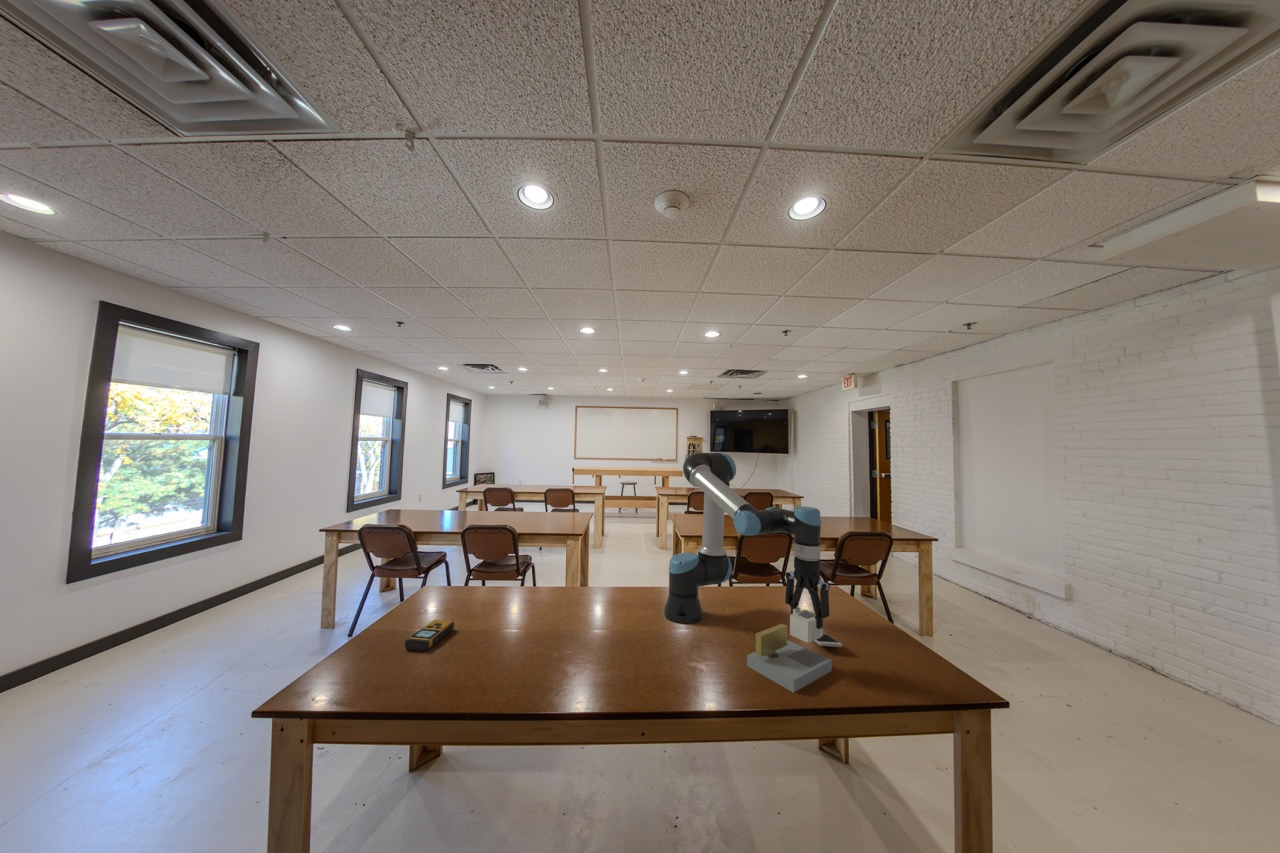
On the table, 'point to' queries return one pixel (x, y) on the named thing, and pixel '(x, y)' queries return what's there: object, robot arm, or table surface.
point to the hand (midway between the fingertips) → (806, 633)
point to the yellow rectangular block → (771, 640)
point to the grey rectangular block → (803, 625)
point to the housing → (791, 666)
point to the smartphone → (828, 641)
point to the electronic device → (429, 635)
